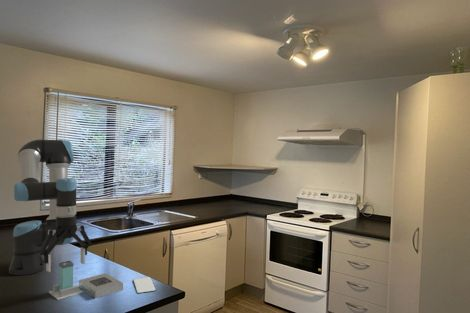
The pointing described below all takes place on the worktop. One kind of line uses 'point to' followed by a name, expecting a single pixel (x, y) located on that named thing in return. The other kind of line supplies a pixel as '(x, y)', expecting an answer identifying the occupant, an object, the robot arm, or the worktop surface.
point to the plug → (65, 275)
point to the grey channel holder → (64, 292)
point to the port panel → (100, 285)
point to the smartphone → (144, 285)
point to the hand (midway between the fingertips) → (66, 267)
